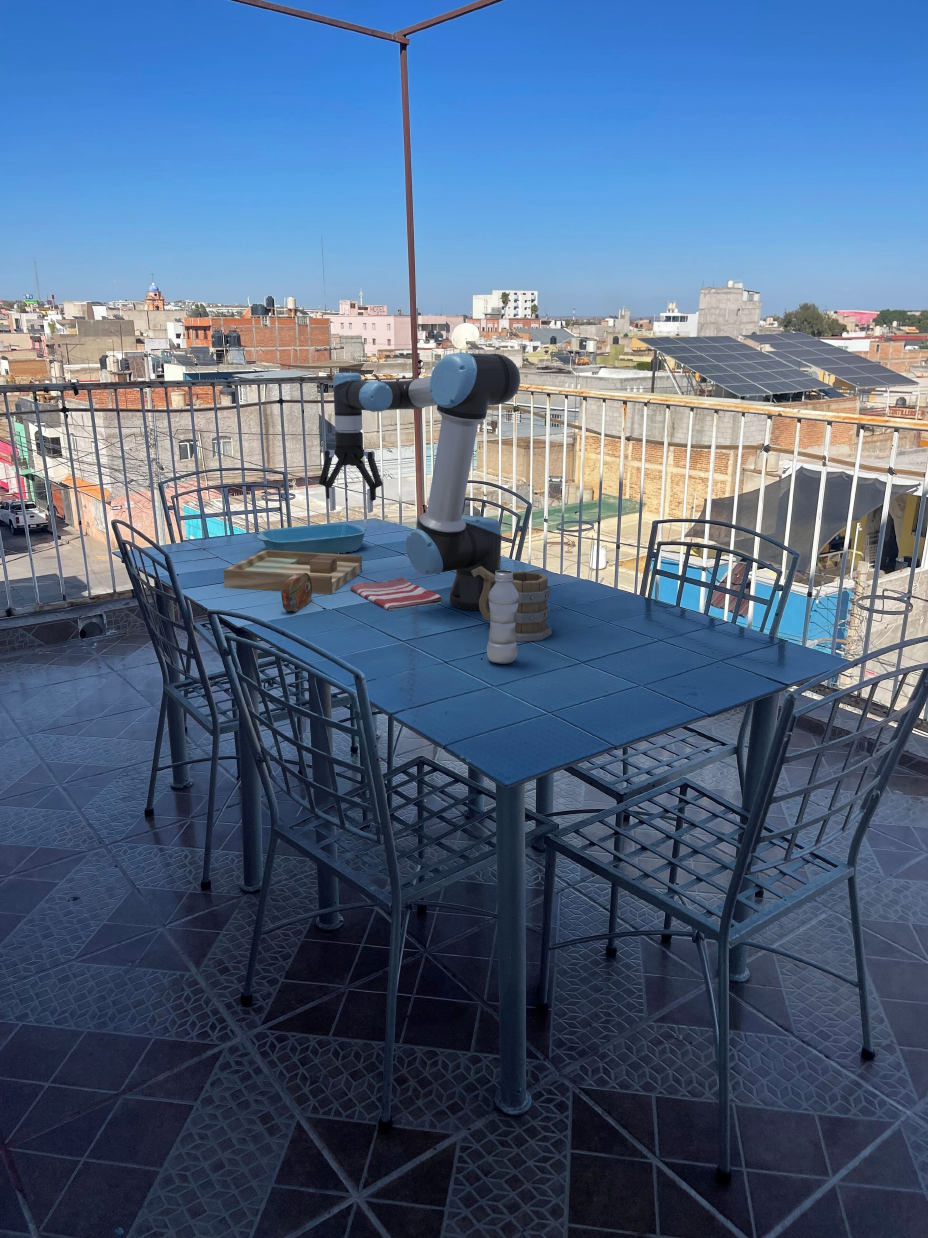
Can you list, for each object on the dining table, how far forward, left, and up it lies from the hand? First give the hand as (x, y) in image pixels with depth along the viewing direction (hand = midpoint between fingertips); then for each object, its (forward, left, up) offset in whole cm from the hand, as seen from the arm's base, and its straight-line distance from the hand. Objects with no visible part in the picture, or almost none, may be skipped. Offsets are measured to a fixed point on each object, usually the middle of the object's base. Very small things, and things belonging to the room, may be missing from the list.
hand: (351, 511), depth 240 cm
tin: (-27, +6, -21) cm, 35 cm away
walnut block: (0, +9, -18) cm, 20 cm away
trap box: (0, +17, -21) cm, 27 cm away
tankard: (-34, -51, -21) cm, 65 cm away
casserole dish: (+37, +27, -21) cm, 50 cm away
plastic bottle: (-56, -53, -21) cm, 80 cm away
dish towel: (-11, -16, -22) cm, 29 cm away
